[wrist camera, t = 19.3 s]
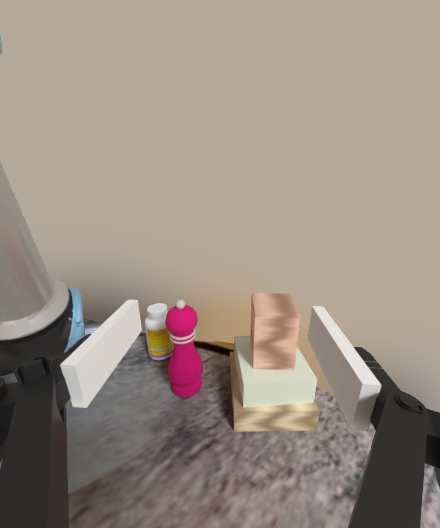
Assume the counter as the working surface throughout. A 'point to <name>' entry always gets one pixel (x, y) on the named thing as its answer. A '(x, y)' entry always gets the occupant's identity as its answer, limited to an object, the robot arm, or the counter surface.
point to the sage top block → (272, 380)
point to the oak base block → (270, 412)
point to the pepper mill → (183, 351)
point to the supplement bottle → (158, 332)
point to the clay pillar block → (274, 331)
